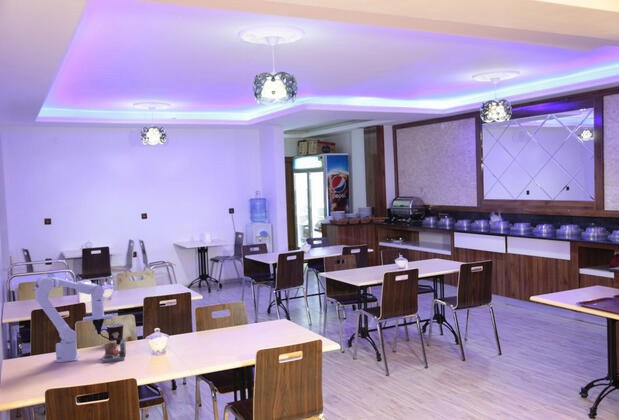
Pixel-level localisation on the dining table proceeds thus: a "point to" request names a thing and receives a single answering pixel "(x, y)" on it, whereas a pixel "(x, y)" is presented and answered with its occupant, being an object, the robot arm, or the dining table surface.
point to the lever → (116, 353)
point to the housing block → (110, 347)
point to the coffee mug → (114, 332)
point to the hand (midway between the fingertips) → (99, 333)
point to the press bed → (121, 352)
